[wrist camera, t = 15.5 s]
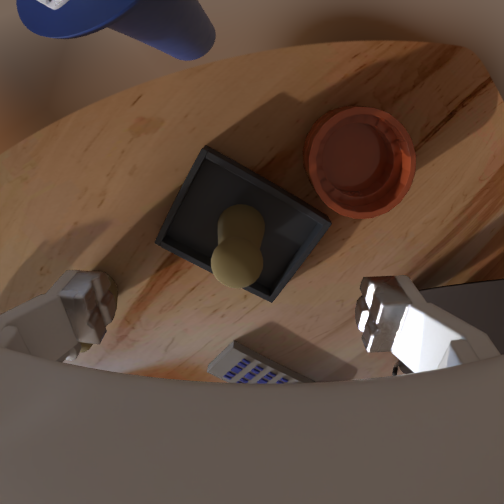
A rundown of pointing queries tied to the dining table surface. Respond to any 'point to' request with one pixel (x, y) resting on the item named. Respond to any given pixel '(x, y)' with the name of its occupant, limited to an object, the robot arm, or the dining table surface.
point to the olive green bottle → (238, 246)
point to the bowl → (359, 161)
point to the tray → (248, 193)
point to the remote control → (251, 368)
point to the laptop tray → (470, 308)
